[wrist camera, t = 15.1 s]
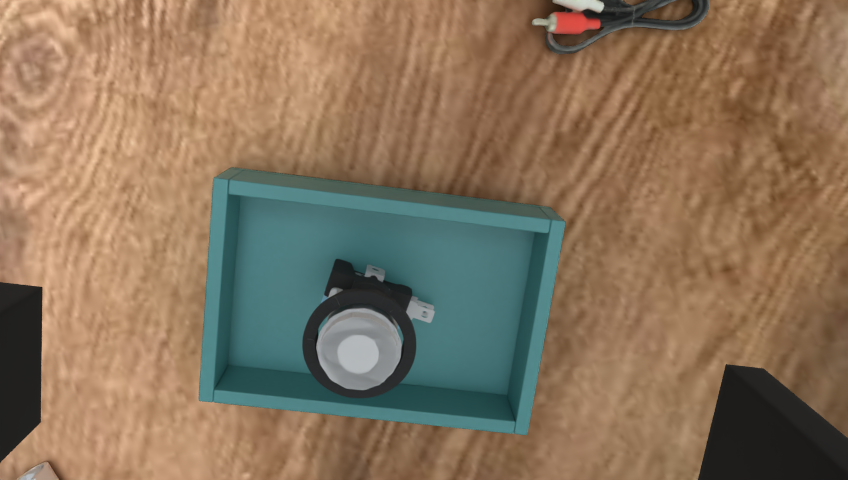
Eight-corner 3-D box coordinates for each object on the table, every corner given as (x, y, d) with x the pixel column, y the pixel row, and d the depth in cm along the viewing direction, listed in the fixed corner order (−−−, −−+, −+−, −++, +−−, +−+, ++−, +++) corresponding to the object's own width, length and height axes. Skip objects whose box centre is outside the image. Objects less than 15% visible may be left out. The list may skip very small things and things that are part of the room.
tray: (550, 206, 43) (566, 221, 39) (516, 403, 45) (527, 435, 41) (230, 166, 41) (212, 177, 37) (216, 371, 44) (197, 401, 40)
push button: (446, 269, 43) (461, 328, 33) (416, 349, 44) (421, 430, 34) (338, 232, 42) (320, 282, 32) (310, 315, 43) (284, 388, 33)
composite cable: (708, -14, 40) (728, -19, 38) (688, 74, 41) (706, 75, 39) (533, -43, 39) (541, -50, 37) (517, 48, 40) (525, 46, 38)
